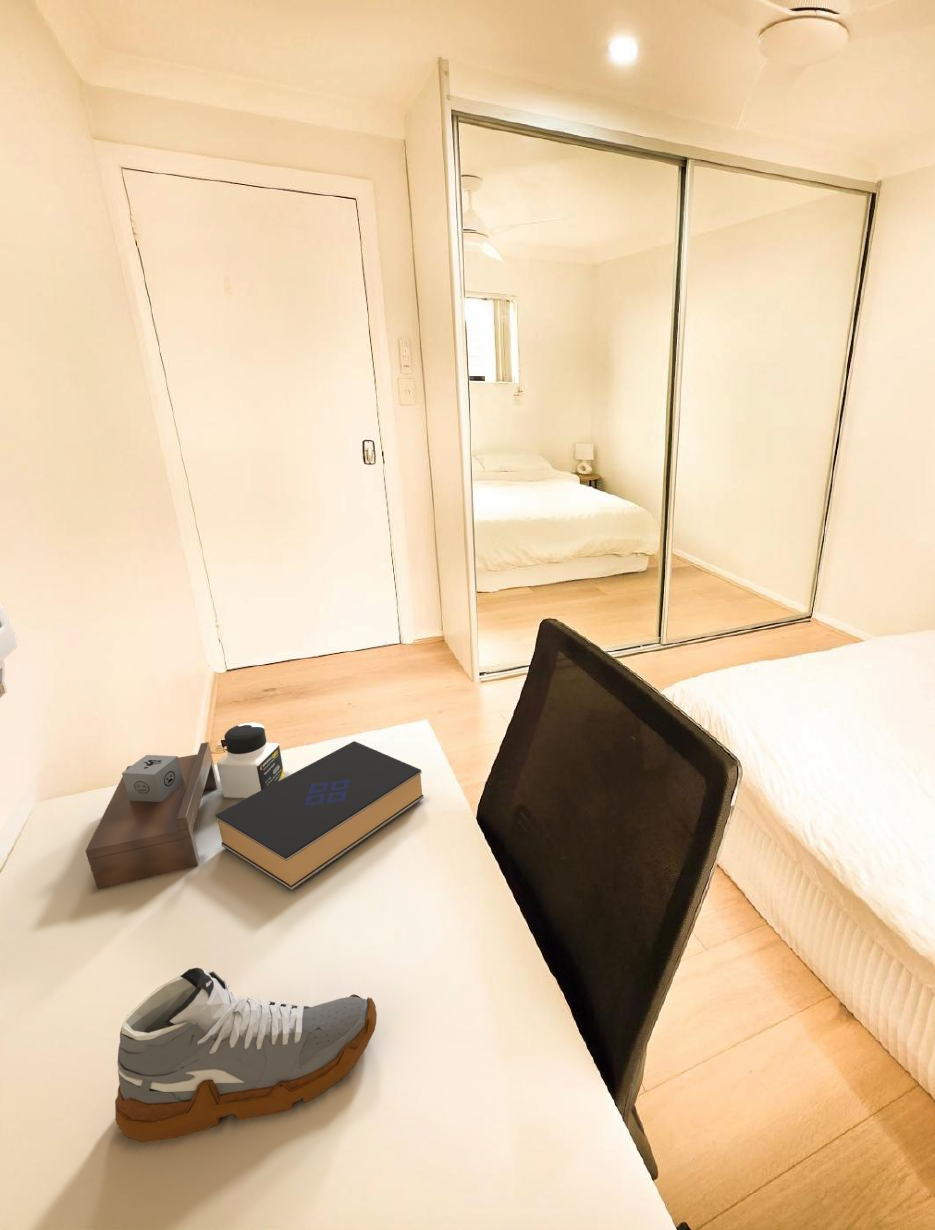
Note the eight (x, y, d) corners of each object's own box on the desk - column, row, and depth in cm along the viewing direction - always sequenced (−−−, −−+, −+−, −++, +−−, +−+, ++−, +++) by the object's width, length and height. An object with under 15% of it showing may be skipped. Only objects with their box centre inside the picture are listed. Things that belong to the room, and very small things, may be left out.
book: (222, 850, 94) (214, 814, 92) (357, 771, 114) (353, 740, 112) (292, 895, 86) (285, 857, 84) (424, 801, 107) (421, 769, 104)
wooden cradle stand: (97, 891, 85) (81, 839, 82) (137, 800, 104) (124, 755, 101) (198, 867, 90) (186, 817, 87) (218, 785, 109) (208, 741, 106)
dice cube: (183, 782, 98) (177, 756, 96) (161, 801, 93) (154, 774, 92) (153, 781, 98) (146, 754, 96) (129, 800, 93) (121, 773, 92)
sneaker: (376, 1089, 62) (361, 983, 57) (102, 1163, 56) (57, 1050, 51) (382, 1007, 71) (369, 908, 66) (144, 1062, 64) (109, 957, 59)
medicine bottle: (263, 799, 106) (252, 740, 101) (223, 798, 106) (210, 738, 101) (285, 775, 112) (275, 719, 108) (247, 774, 112) (235, 717, 108)
